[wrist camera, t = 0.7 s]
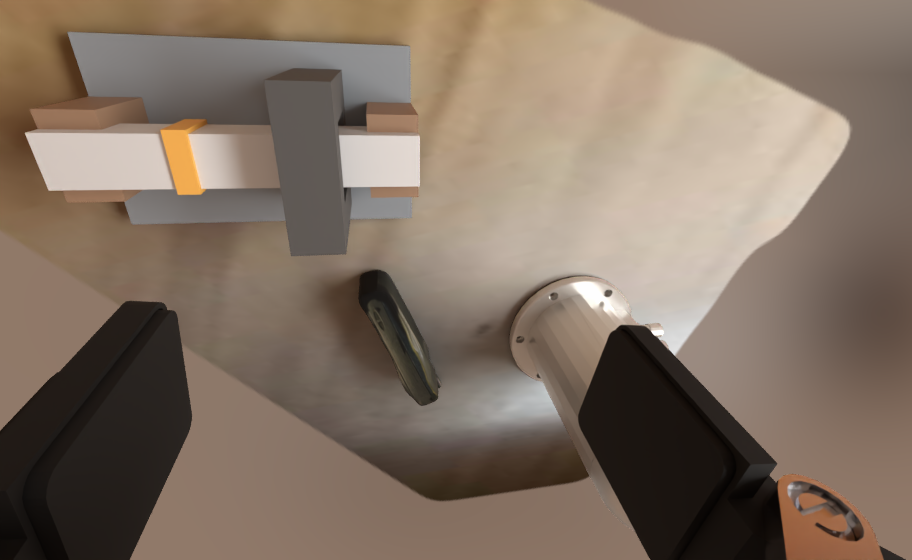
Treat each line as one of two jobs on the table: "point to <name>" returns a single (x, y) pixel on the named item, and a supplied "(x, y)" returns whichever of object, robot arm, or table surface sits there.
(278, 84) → the collar
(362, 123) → the pipe stand
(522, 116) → the table surface
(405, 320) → the mobile phone
